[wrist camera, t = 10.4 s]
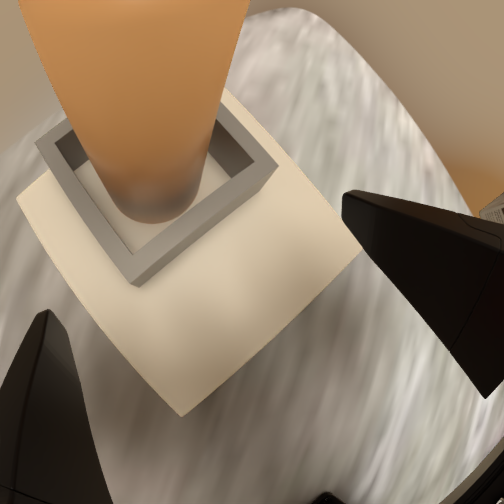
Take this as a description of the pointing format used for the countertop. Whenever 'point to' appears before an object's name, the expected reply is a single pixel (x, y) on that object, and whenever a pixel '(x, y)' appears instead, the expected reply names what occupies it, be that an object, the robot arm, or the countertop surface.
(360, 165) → the countertop surface
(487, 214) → the coffee box
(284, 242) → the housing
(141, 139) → the orange rounded part
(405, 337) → the countertop surface
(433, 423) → the countertop surface
